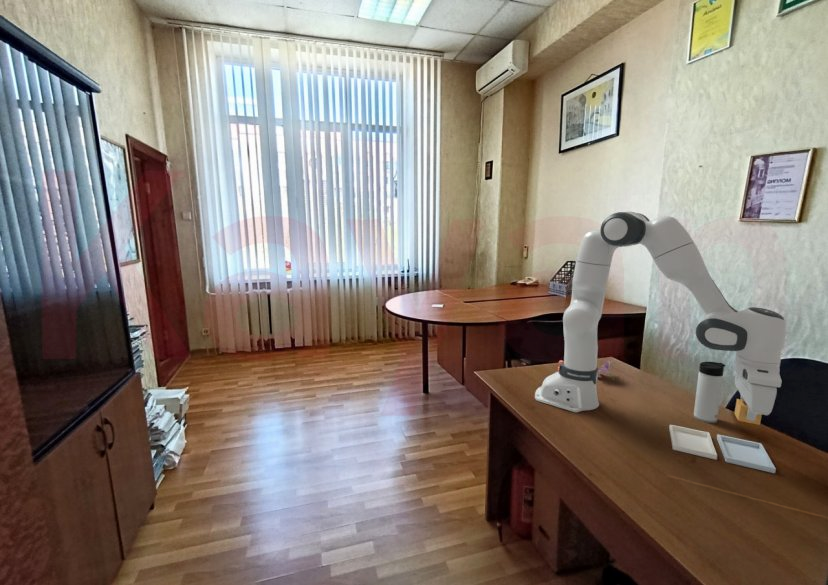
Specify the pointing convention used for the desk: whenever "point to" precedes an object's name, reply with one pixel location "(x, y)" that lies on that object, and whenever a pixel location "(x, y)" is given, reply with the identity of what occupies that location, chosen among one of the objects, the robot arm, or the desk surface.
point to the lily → (606, 368)
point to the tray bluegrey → (745, 453)
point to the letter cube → (741, 412)
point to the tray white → (692, 441)
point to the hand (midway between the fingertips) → (747, 414)
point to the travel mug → (708, 391)
